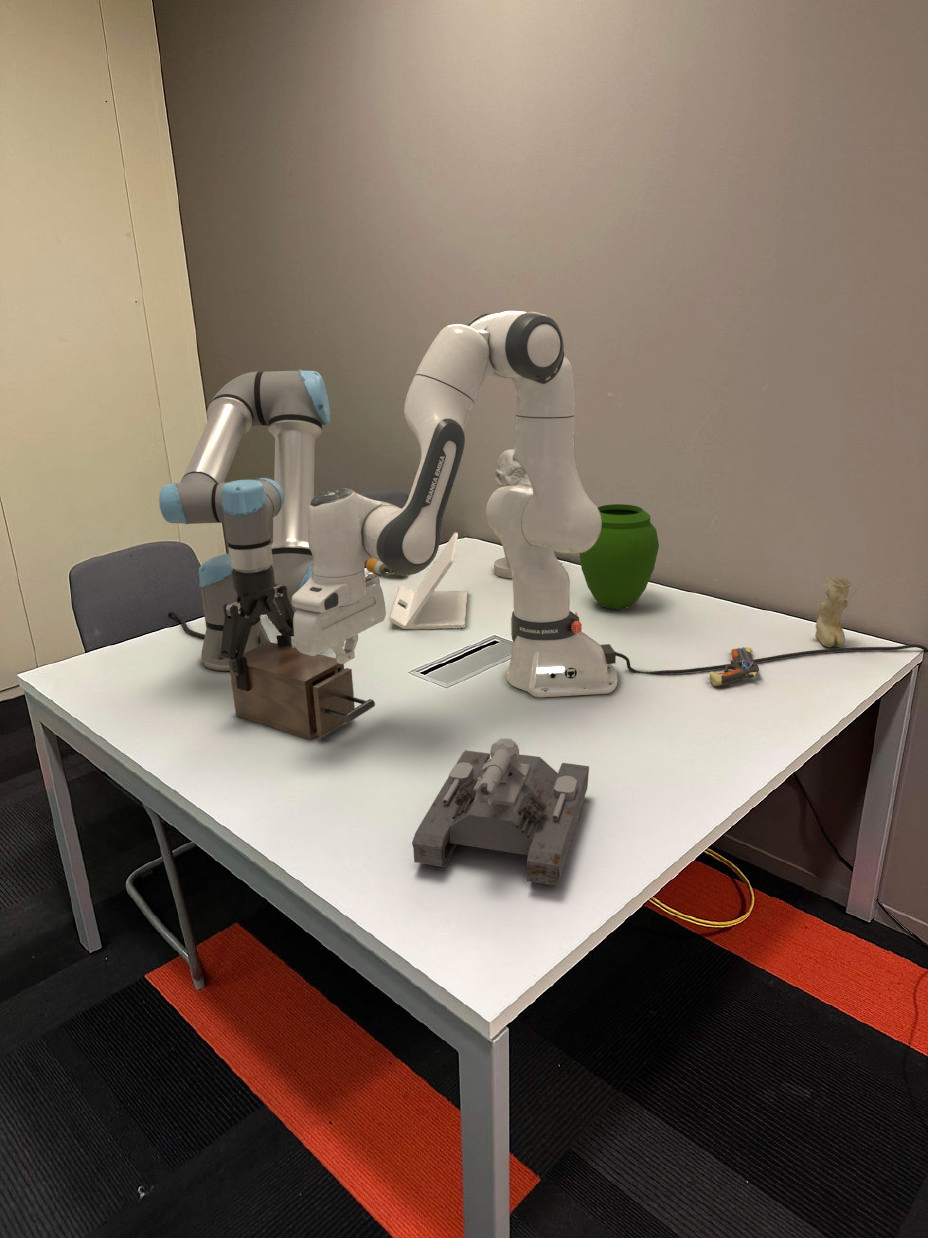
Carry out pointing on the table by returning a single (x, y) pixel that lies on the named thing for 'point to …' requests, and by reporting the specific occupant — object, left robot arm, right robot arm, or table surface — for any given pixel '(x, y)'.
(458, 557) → the table surface
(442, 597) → the tablet stand
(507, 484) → the bust sculpture
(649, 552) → the vase
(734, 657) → the toy gun
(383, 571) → the spray gun
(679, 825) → the table surface
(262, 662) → the cabinet
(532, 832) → the toy
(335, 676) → the drawer
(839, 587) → the sculpture
